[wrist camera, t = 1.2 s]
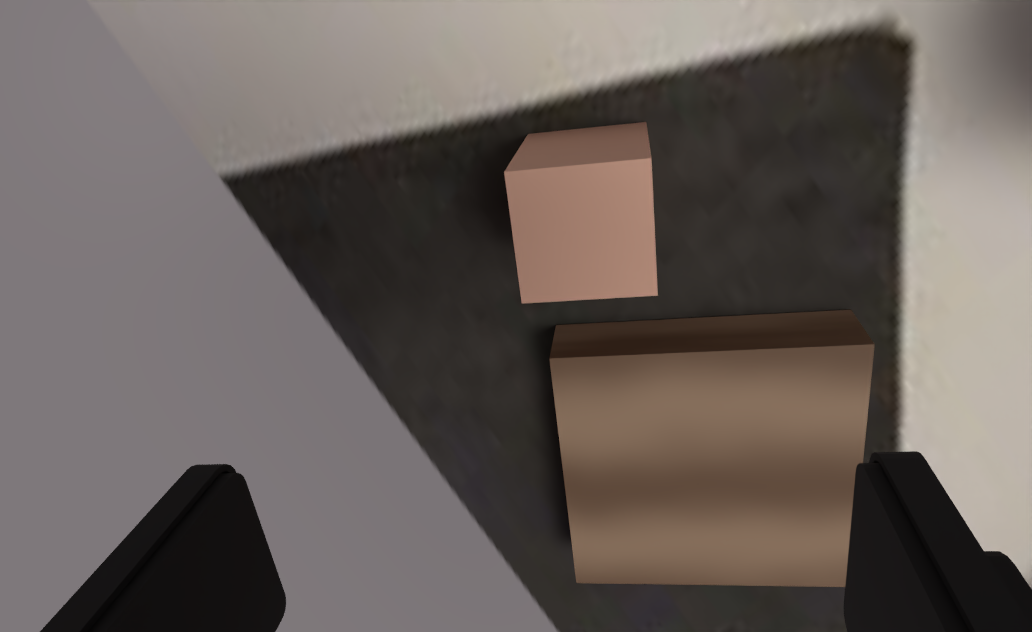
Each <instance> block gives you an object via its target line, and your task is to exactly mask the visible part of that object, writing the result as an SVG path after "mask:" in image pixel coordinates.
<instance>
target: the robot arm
mask: <svg viewBox="0 0 1032 632" xmlns="http://www.w3.org/2000/svg"><path fill="white" fill-rule="evenodd" d="M285 607H286V597H285V592H284V590H283V587H282V584H281V581H280V578H279V576H278V572H277V570H276V567H275V564H274V561H273V558H272V555H271V552H270V549H269V546H268V544H267V541H266V538H265V535H264V532H263V529H262V527H261V524H260V521H259V518H258V515H257V512H256V509H255V506H254V503H253V501H252V498H251V495H250V492H249V489H248V486H247V483H246V481H245V479H244V477H243V476H242V475H241V474H239V473H236V471H235V469H234V468H233V467H232V466H231V465H227V464H219V465H218V464H217V465H216V464H214V465H195V466H191V467H190V468H189V469H188V470H187V471H186V472H185V473H184V474H183V475H182V476H181V477H180V478H179V479H178V481H177V482H176V483H175V484H174V485H173V486H172V487H171V488H170V489H169V490H168V491H167V493H166V494H165V495H164V496H163V497H162V498H161V499H160V500H159V501H158V503H157V504H156V505H155V506H154V507H153V508H152V509H151V510H150V511H149V512H148V513H147V515H146V516H145V517H144V518H143V519H142V520H141V521H140V522H139V524H138V525H137V526H136V527H135V528H134V529H133V530H132V531H131V532H130V533H129V534H128V535H127V537H126V538H125V539H124V540H123V541H122V542H121V543H120V544H119V546H118V547H117V548H116V549H115V550H114V551H113V552H112V553H111V554H110V555H109V556H108V557H107V559H106V560H105V561H104V562H103V563H102V564H101V565H100V566H99V568H97V570H96V571H95V572H94V573H93V574H92V575H91V576H90V577H89V578H88V579H87V581H86V582H85V583H84V584H83V585H82V586H81V587H80V588H79V589H78V591H77V592H76V593H75V594H74V595H73V596H72V597H71V598H70V599H69V600H68V602H67V603H66V604H65V605H64V606H63V607H62V608H61V609H60V610H59V611H58V613H57V614H56V615H55V616H54V617H53V618H52V619H51V620H50V622H48V624H47V625H46V626H45V627H44V628H43V629H42V630H41V631H40V632H275V631H276V629H277V628H278V626H279V624H280V622H281V620H282V618H283V616H284V612H285ZM844 617H845V623H846V628H847V632H1032V589H1031V588H1030V586H1029V585H1028V584H1027V582H1026V581H1025V579H1024V578H1023V576H1022V575H1021V573H1020V572H1019V570H1018V569H1017V567H1016V566H1015V565H1014V563H1013V562H1012V561H1011V560H1010V559H1009V558H1008V556H1006V555H1005V554H1003V553H1001V552H999V551H983V549H982V548H981V546H980V545H979V543H978V541H977V540H976V538H975V537H974V535H973V534H972V532H971V530H970V529H969V527H968V526H967V524H966V523H965V521H964V519H963V518H962V516H961V515H960V513H959V512H958V510H957V508H956V507H955V505H954V504H953V502H952V501H951V499H950V497H949V496H948V494H947V493H946V491H945V490H944V488H943V486H942V485H941V483H940V482H939V480H938V479H937V477H936V475H935V474H934V472H933V471H932V469H931V468H930V466H929V464H928V463H927V461H926V460H925V458H924V457H923V456H922V454H921V453H919V452H875V453H873V454H872V455H871V457H870V462H869V463H859V464H858V465H857V467H856V473H855V484H854V496H853V507H852V518H851V529H850V540H849V552H848V563H847V574H846V585H845V596H844Z"/></svg>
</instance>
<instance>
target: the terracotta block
mask: <svg viewBox="0 0 1032 632" xmlns="http://www.w3.org/2000/svg"><path fill="white" fill-rule="evenodd" d="M504 175H505V182H506V189H507V197H508V204H509V212H510V219H511V227H512V234H513V241H514V249H515V256H516V264H517V271H518V279H519V286H520V293H521V301H522V303H538V302H555V301H572V300H589V299H606V298H623V297H640V296H657V295H658V292H657V270H656V248H655V227H654V205H653V183H652V161H651V152H650V145H649V139H648V132H647V125H646V122H640V123H630V124H621V125H611V126H601V127H591V128H582V129H572V130H562V131H553V132H543V133H533V134H528V135H527V136H526V138H525V140H524V141H523V143H522V144H521V146H520V147H519V149H518V151H517V152H516V154H515V155H514V157H513V159H512V160H511V162H510V163H509V165H508V167H507V168H506V170H505V171H504Z"/></svg>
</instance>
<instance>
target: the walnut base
mask: <svg viewBox="0 0 1032 632" xmlns="http://www.w3.org/2000/svg"><path fill="white" fill-rule="evenodd" d="M873 354H874V343H873V341H872V340H871V338H870V337H869V336H868V334H867V333H866V331H865V330H864V328H863V327H862V325H861V324H860V322H859V321H858V319H857V318H856V316H855V315H854V313H853V312H852V311H851V310H834V311H815V312H796V313H777V314H758V315H739V316H720V317H701V318H682V319H663V320H644V321H624V322H605V323H586V324H567V325H556V328H555V333H554V338H553V343H552V348H551V353H550V358H549V360H550V368H551V376H552V384H553V393H554V401H555V409H556V417H557V426H558V434H559V442H560V450H561V459H562V467H563V475H564V483H565V492H566V500H567V508H568V516H569V525H570V533H571V541H572V549H573V557H574V566H575V574H576V582H577V583H611V584H681V585H750V586H820V587H845V585H846V574H847V563H848V552H849V540H850V529H851V518H852V507H853V496H854V484H855V473H856V467H857V465H858V464H859V463H863V456H864V445H865V435H866V425H867V415H868V405H869V395H870V385H871V375H872V364H873Z"/></svg>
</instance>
